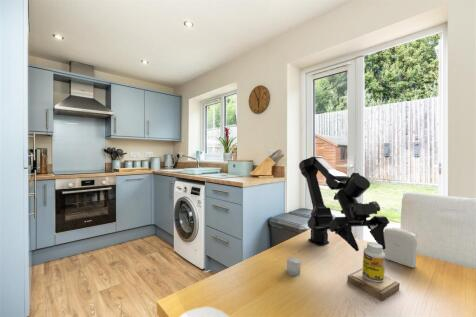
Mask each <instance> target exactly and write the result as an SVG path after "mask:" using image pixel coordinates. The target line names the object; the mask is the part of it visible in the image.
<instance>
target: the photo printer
mask: <svg viewBox="0 0 476 317" xmlns="http://www.w3.org/2000/svg"><path fill="white" fill-rule="evenodd" d="M417 238H418V237H417V235H416V234H415V233H413V232H412V231H410V230H406V229H403V228H401V227H400V228H399V227H392V226H390V227H389V226H386V227H385V228H384V240H385V247H386V248H385V249H384V250H383V249H382V250H383V251H382V252H384V254H385V260H388V261H392V262H395V263H398V264H400V265H403V266H406V267H409V268H412V269H413V268H416V266H417V247H418V239H417Z"/></svg>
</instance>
